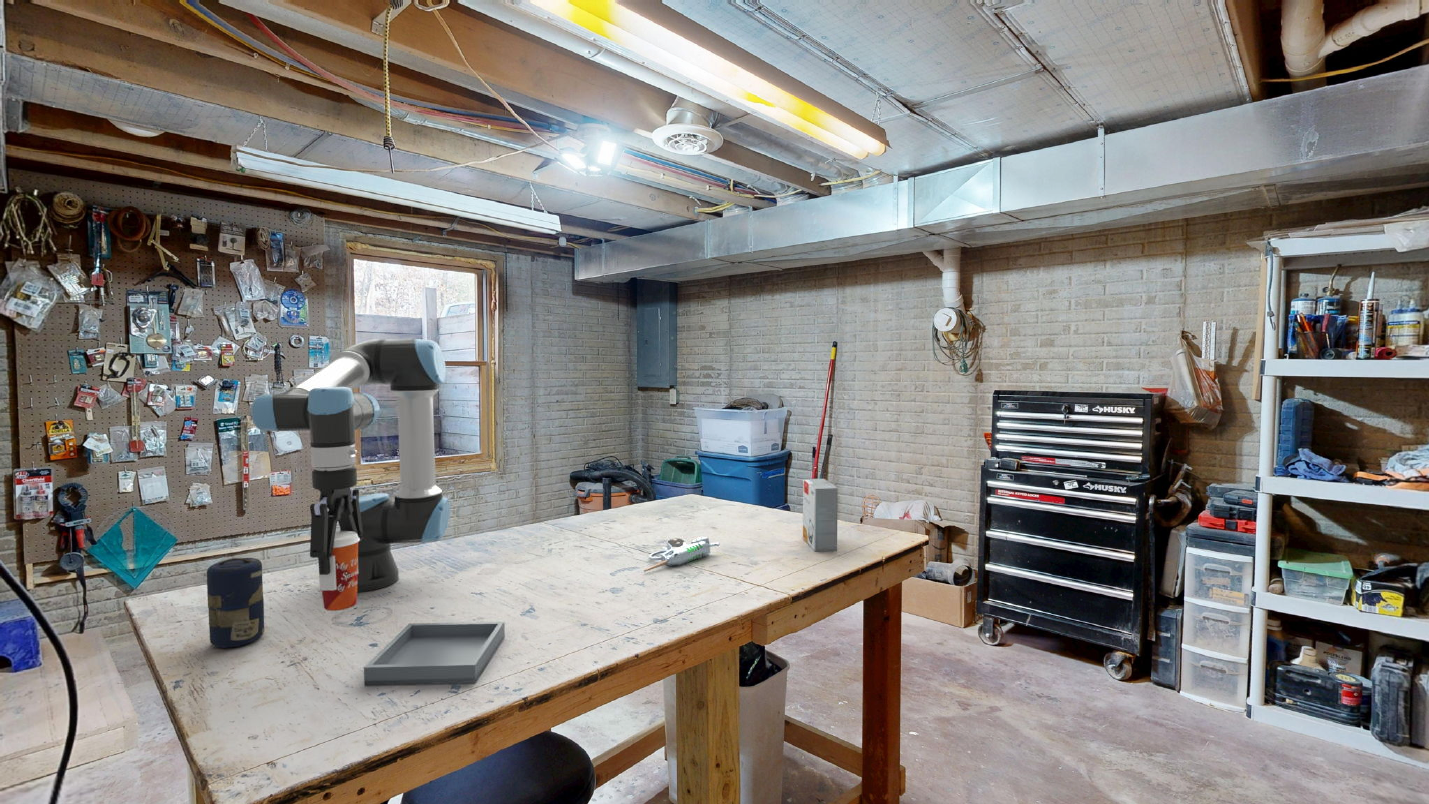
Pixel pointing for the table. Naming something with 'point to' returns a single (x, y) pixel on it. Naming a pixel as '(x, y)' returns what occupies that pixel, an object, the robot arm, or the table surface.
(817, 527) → the hard drive box
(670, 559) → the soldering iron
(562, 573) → the table surface
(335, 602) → the paper cup
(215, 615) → the canister
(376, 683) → the tray
